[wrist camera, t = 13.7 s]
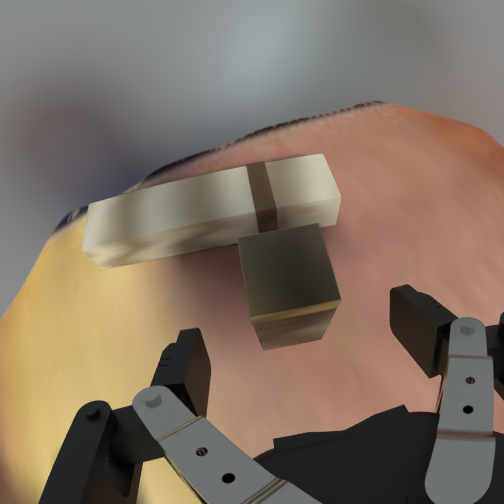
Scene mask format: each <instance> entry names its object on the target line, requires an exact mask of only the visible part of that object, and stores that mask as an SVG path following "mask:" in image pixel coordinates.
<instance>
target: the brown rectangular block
mask: <svg viewBox="0 0 504 504" xmlns="http://www.w3.org/2000/svg"><path fill="white" fill-rule="evenodd" d="M237 241H238V247H239V254H240V261H241V267H242V274H243V280H244V287H245V293H246V300H247V306H248V313H249V318H250V321H251V323H252V324H253V327H254V329H255V331H256V334H257V336H258V338H259V341H260V343H261V346H262V348H263V350H270V349H275V348H281V347H286V346H291V345H296V344H301V343H306V342H311V341H315V340H320V339H322V337H323V335H324V333H325V331H326V329H327V327H328V325H329V323H330V321H331V319H332V317H333V315H334V313H335V311H336V308H337V307H338V306H339V303H340V301H341V296H340V293H339V289H338V286H337V282H336V278H335V275H334V271H333V268H332V265H331V261H330V258H329V255H328V251H327V248H326V245H325V241H324V238H323V235H322V232H321V229H320V225H319V223H314V224H309V225H303V226H298V227H292V228H287V229H281V230H276V231H270V232H265V233H260V234H254V235H249V236H244V237H238V238H237Z"/></svg>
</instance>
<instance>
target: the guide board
mask: <svg viewBox="0 0 504 504" xmlns="http://www.w3.org/2000/svg"><path fill="white" fill-rule="evenodd" d="M340 201H341V195H340V192H339V190H338V187H337V185H336V183H335V180H334V178H333V176H332V173H331V171H330V169H329V166H328V164H327V162H326V160H325V157H324V155H323V154H317V155H310V156H303V157H296V158H290V159H284V160H277V161H271V162H266V163H265V162H259V163H253V164H248V165H246V166H244V167H238V168H233V169H228V170H223V171H218V172H214V173H209V174H204V175H200V176H195V177H191V178H186V179H182V180H178V181H174V182H169V183H165V184H161V185H157V186H153V187H149V188H146V189H142V190H138V191H134V192H130V193H127V194H123V195H120V196H116V197H113V198H109V199H106V200H102V201H99V202H96V203H92V204H89V207H88V213H87V218H86V223H85V229H84V235H83V242H82V248H81V250H82V251H83V252H84V253H85V254H86V255H88V256H89V257H90V258H91V259H92V260H93V261H94V262H95V263H96V264H97V265H99V266H100V267H101V268H102V269H103V270H105V269H109V268H114V267H119V266H124V265H129V264H134V263H139V262H144V261H149V260H154V259H159V258H164V257H169V256H174V255H180V254H185V253H190V252H195V251H200V250H205V249H210V248H215V247H221V246H226V245H231V244H236V243H238V241H237V238H238V237H244V236H249V235H254V234H260V233H265V232H270V231H276V230H281V229H287V228H292V227H298V226H303V225H309V224H314V223H319V225H320V228H322V227H327V226H333V225H336V221H337V216H338V211H339V206H340Z"/></svg>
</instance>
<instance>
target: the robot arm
mask: <svg viewBox="0 0 504 504" xmlns="http://www.w3.org/2000/svg"><path fill="white" fill-rule="evenodd" d="M390 327H391V330H392V333H393V334H394V336H395V337H396V338H397V339H398V340H399V342H400V343H401V344H402V345H403V347H404V348H405V349H406V350H407V351H408V353H409V354H410V355H411V356H412V358H413V359H414V360H415V361H416V363H417V364H418V365H419V366H420V368H421V369H422V370H423V371H424V373H425V374H426V375H427V376H428V378H429V379H430V378H432V377H435V376H437V375H441V376H442V377H441V382H440V387H439V392H438V398H437V403H436V408H435V412H434V413H433V412H408V410H407V409H406V407H405V405H401V406H398V407H396V408H393V409H390V410H387V411H384V412H381V413H378V414H375V415H373V416H371V417H369V418H367V419H366V420H364V421H362V422H360V423H358V424H356V425H354V426H352V427H350V428H348V429H346V430H343V431H330V432H307V433H302V434H297V435H292V436H286V437H281V438H275V439H273V442H274V448H273V449H271V450H268V451H266V452H264V453H262V454H260V455H258V456H256V457H255V458H253V459H252V458H250V457H249V456H248V455H247V454H246V453H244V452H243V451H242V450H241V449H240V448H238V447H237V446H236V445H235V444H234V443H232V442H231V441H230V440H229V439H228V438H227V437H226V436H224V435H223V434H222V433H221V432H220V431H219V430H218V429H217V428H215V427H214V426H213V425H212V424H211V423H210V422H209V421H208V420H207V419H206V414H207V405H208V396H209V387H210V378H211V365H210V360H209V356H208V353H207V350H206V347H205V344H204V341H203V337H202V334H201V331H200V329H199V328H192V329H186V330H181V331H180V333H179V336H178V339H177V342H176V343H170V344H169V345H168V346H167V347H166V348H165V349H164V350H163V352H162V355H161V358H160V361H159V363H158V367H157V368H156V371H155V374H154V377H153V379H152V382H151V385H150V387H148V388H145V389H143V390H142V391H140V392H139V393H138V394H137V395H136V396H135V397H134V399H133V402H132V405H130V406H127V407H123V408H119V409H115V410H112V409H111V407H110V405H109V404H108V403H107V402H105V401H101V400H97V401H92V402H89V403H87V404H85V405H84V406H82V407H81V408H80V409H79V410H78V412H77V414H76V416H75V418H74V420H73V422H72V424H71V426H70V429H69V431H68V433H67V435H66V437H65V440H64V442H63V444H62V446H61V449H60V451H59V453H58V456H57V458H56V460H55V463H54V465H53V467H52V470H51V472H50V475H49V477H48V480H47V482H46V485H45V487H44V490H43V493H42V495H41V498H40V501H39V503H38V504H136V500H137V494H138V488H139V482H140V477H141V471H142V466H143V462H146V461H150V460H154V459H158V458H162V457H164V458H165V459H166V461H167V462H168V463H169V465H170V466H171V467H172V468H173V470H174V471H175V472H176V474H177V475H178V476H179V477H180V478H181V480H182V481H183V482H184V483H185V485H186V486H187V487H188V488H189V489H190V491H191V492H192V493H193V494H194V495H195V497H196V498H197V499H198V500H199V501H200V503H201V504H504V434H502V433H499V432H495V431H493V413H494V389H495V390H496V392H497V393H498V394H499V395H500V396H501V398H502V399H503V400H504V312H503V313H502V314H501V316H500V321H499V324H498V325H492V326H486V327H485V326H484V324H483V323H482V322H481V321H480V320H478V319H475V318H471V317H462V318H458V317H457V316H455V315H454V314H453V313H452V312H450V311H449V310H448V309H447V308H445V307H444V306H442V305H441V304H440V303H439V302H437V301H436V300H435V299H434V298H433V297H431V296H430V295H427V294H424V293H421V292H417V291H416V290H415V289H414V288H412V287H411V286H410V285H408V284H406V285H402V286H398V287H395V288H392V289H391V290H390Z"/></svg>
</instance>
